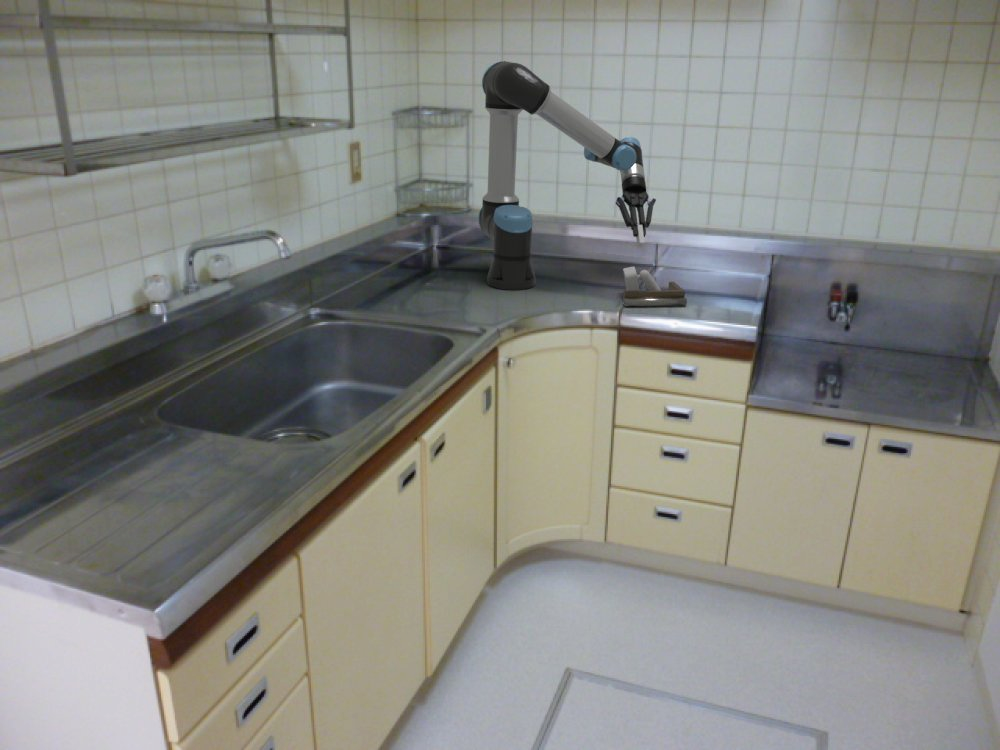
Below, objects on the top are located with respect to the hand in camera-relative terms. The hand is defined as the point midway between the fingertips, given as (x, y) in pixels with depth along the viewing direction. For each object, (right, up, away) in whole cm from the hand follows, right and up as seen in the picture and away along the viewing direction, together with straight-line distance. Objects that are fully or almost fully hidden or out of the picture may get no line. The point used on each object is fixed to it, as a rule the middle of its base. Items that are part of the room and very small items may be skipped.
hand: (640, 244), depth 258 cm
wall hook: (-1, -17, -7) cm, 18 cm away
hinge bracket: (+1, -18, -11) cm, 21 cm away
